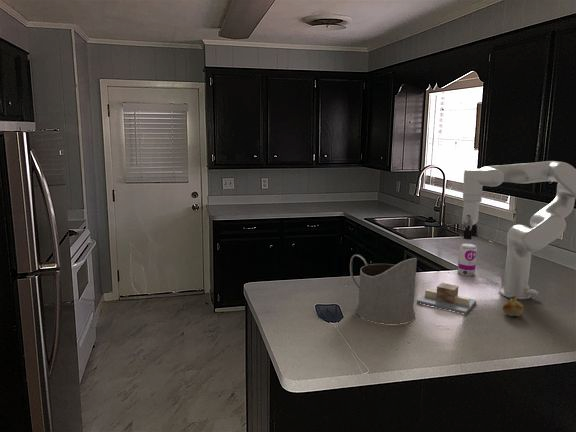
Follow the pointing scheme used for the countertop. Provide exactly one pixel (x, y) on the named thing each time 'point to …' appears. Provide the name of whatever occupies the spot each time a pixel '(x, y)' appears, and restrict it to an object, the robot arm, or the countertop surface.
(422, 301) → the cleat board
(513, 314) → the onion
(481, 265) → the countertop surface
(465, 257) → the supplement can
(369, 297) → the pitcher
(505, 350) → the countertop surface
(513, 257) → the robot arm
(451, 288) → the saddle block
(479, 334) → the countertop surface
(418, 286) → the countertop surface
